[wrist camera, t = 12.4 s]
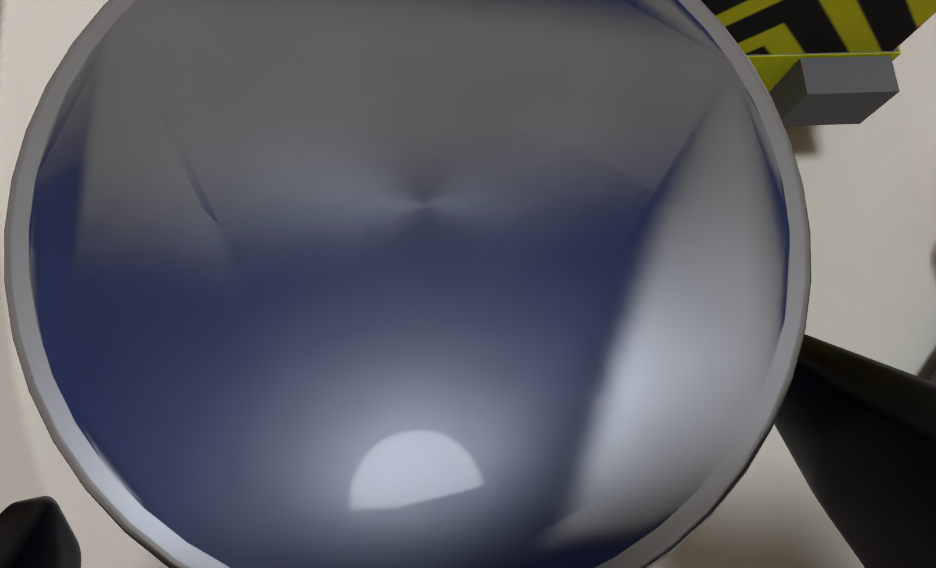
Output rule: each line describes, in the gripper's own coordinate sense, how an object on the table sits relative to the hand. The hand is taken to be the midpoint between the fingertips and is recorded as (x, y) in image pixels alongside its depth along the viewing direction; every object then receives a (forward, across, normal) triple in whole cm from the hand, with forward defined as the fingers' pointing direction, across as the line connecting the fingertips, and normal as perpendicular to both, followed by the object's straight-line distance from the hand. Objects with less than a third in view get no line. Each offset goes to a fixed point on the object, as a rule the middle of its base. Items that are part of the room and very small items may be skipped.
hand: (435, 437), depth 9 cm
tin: (+7, 0, +6) cm, 9 cm away
